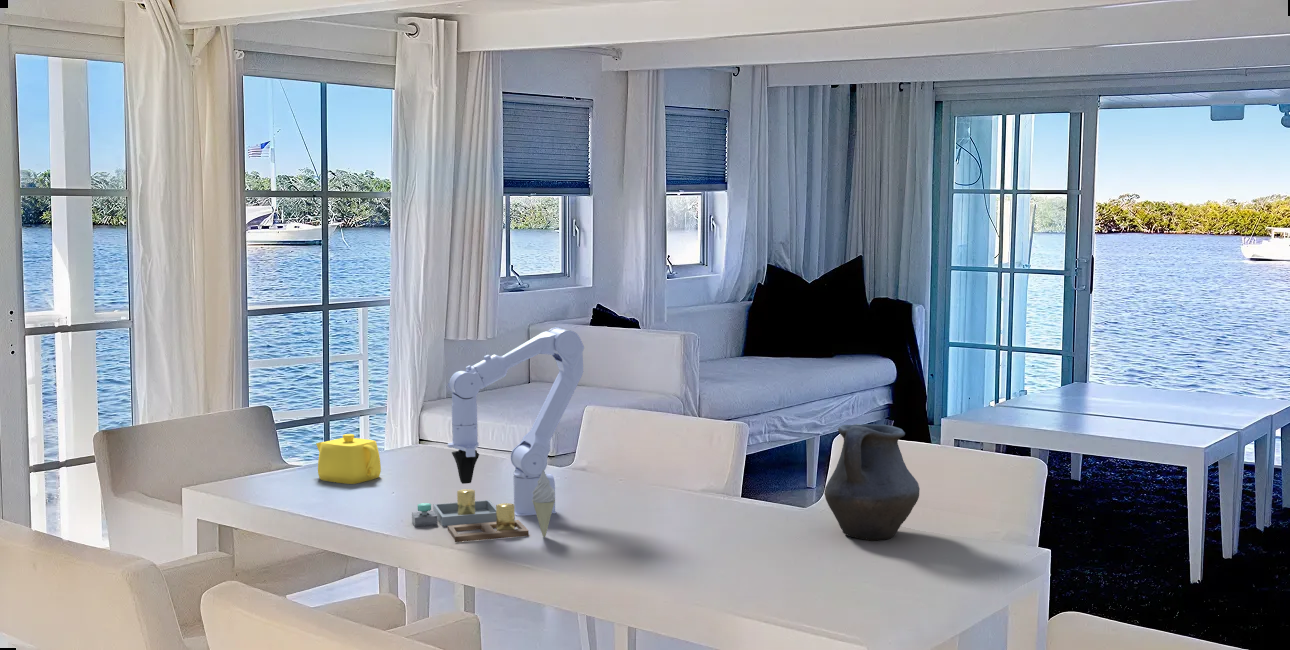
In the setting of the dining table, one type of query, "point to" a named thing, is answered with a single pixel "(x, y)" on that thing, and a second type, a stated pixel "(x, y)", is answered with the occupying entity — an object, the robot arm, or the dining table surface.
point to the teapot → (348, 460)
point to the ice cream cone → (543, 502)
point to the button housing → (424, 519)
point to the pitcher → (871, 483)
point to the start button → (424, 508)
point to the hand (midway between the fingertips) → (465, 482)
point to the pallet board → (486, 531)
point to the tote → (449, 515)
